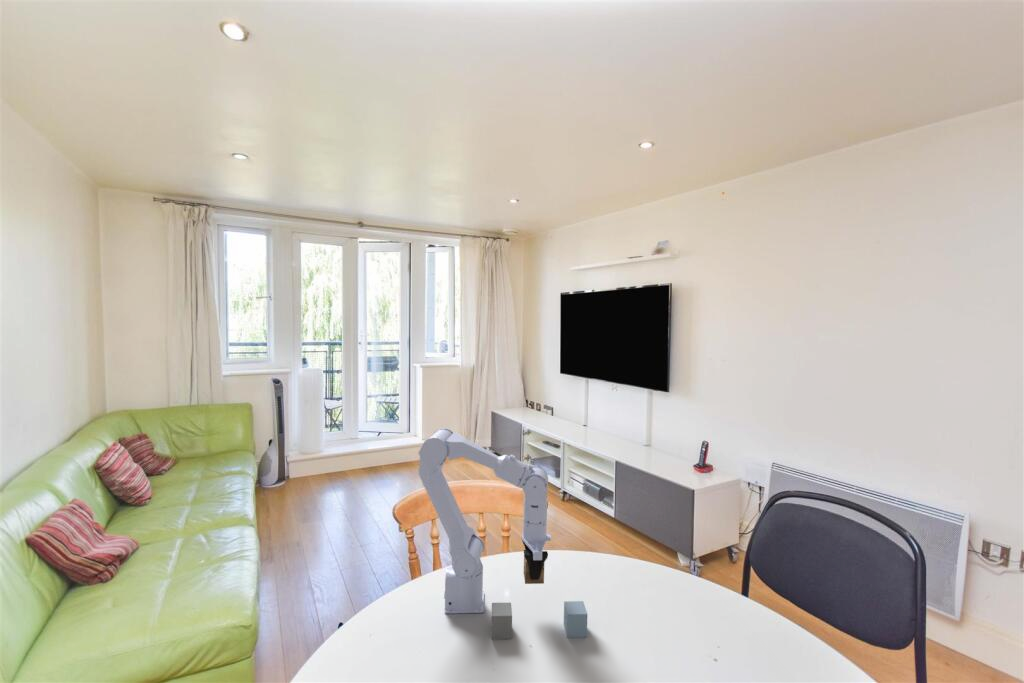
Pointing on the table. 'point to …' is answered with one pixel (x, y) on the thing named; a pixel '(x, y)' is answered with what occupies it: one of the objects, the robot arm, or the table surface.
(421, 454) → the robot arm
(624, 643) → the table surface
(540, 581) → the walnut block
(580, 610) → the slate block
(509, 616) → the grey block
